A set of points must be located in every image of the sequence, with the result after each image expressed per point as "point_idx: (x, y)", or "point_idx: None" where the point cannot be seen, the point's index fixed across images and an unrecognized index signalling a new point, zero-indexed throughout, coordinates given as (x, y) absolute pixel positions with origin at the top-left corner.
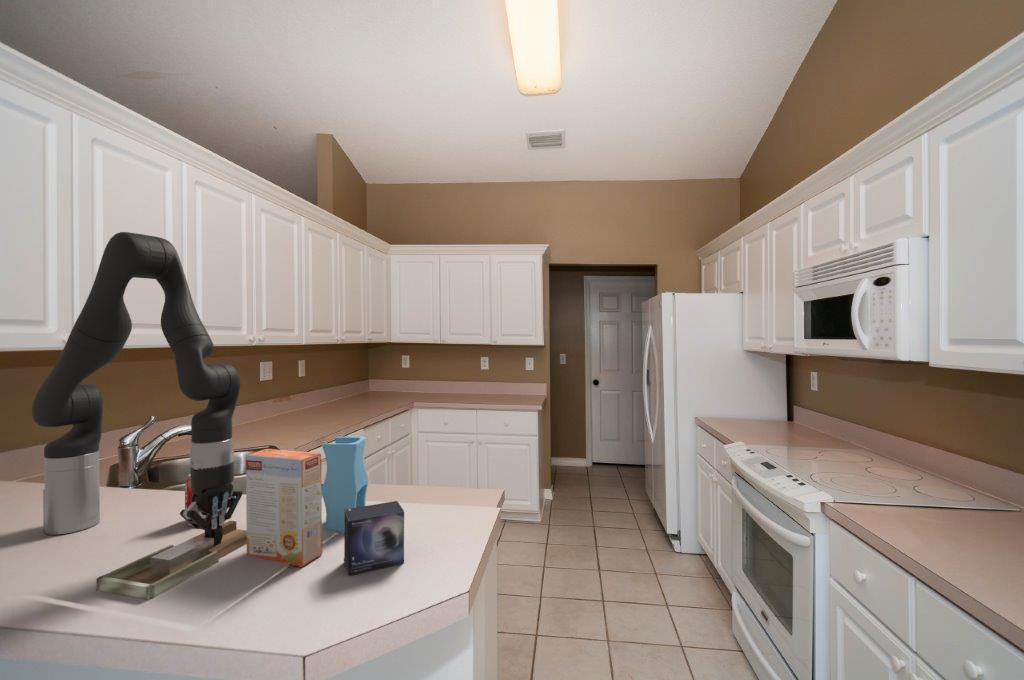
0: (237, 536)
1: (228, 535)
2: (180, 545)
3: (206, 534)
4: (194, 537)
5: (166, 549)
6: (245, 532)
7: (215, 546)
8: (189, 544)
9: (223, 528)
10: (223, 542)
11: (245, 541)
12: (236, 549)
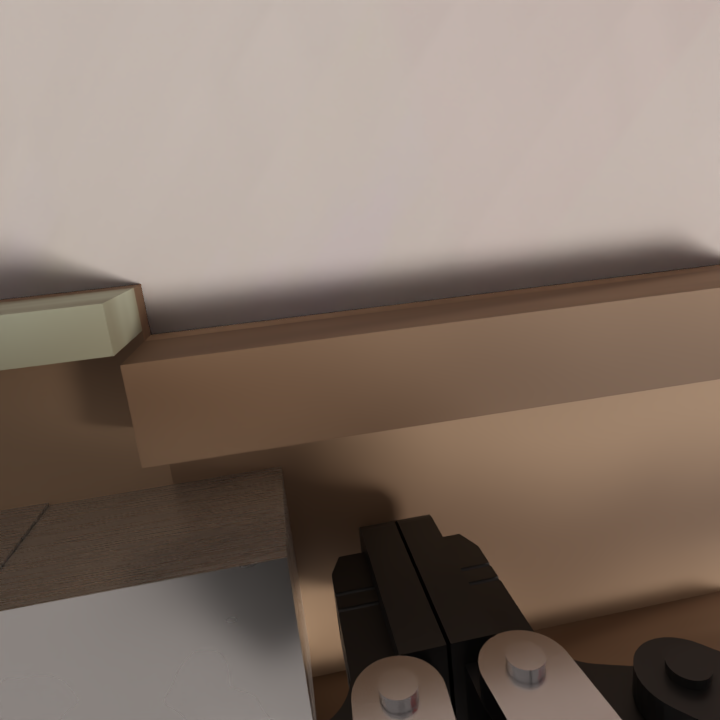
0: None
1: (628, 404)
2: (21, 655)
3: (347, 664)
4: (251, 580)
5: (15, 367)
6: None
7: (422, 515)
8: (96, 715)
9: (668, 379)
10: (503, 503)
11: None
12: None
